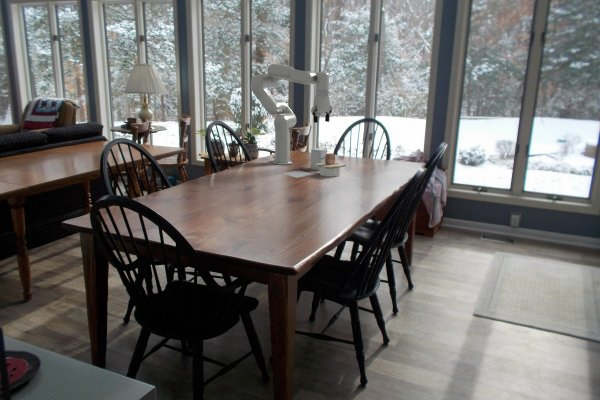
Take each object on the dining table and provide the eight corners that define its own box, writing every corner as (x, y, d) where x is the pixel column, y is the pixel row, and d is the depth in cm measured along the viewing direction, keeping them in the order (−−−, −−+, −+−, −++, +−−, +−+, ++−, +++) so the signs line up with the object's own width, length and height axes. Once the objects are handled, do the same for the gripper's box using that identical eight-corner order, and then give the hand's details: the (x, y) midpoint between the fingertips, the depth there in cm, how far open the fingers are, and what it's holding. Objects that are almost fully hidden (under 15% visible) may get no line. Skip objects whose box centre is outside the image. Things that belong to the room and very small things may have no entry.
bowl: (316, 174, 290) (316, 165, 288) (329, 172, 297) (330, 163, 295) (329, 178, 282) (329, 168, 280) (343, 175, 289) (343, 166, 287)
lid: (314, 165, 288) (314, 153, 287) (330, 162, 297) (330, 151, 295) (329, 169, 279) (329, 156, 277) (345, 166, 287) (346, 154, 285)
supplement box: (320, 171, 300) (320, 150, 296) (310, 169, 304) (310, 149, 301) (327, 169, 305) (327, 148, 302) (317, 167, 310) (317, 147, 306)
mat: (281, 174, 290) (281, 173, 290) (299, 171, 299) (299, 170, 299) (296, 178, 280) (296, 177, 280) (314, 175, 288) (315, 174, 288)
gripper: (328, 92, 305) (327, 120, 310) (307, 93, 294) (306, 122, 299) (336, 93, 300) (335, 121, 305) (315, 94, 289) (315, 123, 294)
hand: (321, 122), depth 302 cm, fingers open, 9 cm apart
